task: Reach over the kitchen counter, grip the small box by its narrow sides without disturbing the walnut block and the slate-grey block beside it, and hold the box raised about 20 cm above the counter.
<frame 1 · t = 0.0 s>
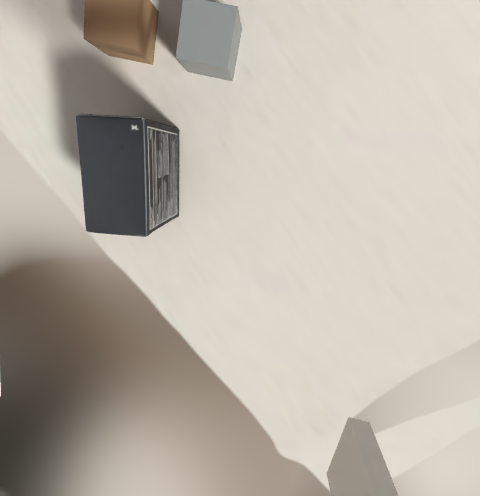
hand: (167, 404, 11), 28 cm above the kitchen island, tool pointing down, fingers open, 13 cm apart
small box: (154, 172, 37), on the kitchen island
walnut block: (133, 34, 33), on the kitchen island
slate-grey block: (214, 51, 33), on the kitchen island
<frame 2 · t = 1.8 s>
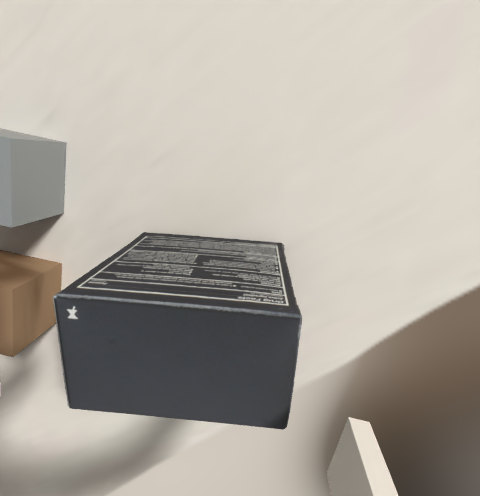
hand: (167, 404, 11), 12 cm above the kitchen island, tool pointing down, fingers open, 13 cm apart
small box: (211, 276, 23), on the kitchen island
walnut block: (30, 285, 25), on the kitchen island
slate-grey block: (31, 171, 22), on the kitchen island
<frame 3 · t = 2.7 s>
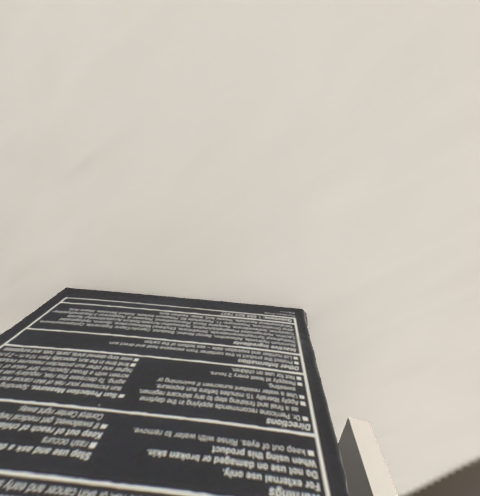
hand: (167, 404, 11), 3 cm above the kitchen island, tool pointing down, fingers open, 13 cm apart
small box: (183, 357, 14), on the kitchen island
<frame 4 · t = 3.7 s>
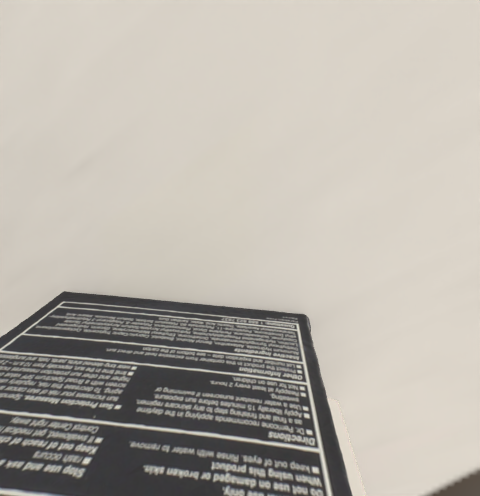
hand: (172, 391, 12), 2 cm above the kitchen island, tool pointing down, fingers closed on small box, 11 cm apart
small box: (183, 362, 14), on the kitchen island, touching gripper
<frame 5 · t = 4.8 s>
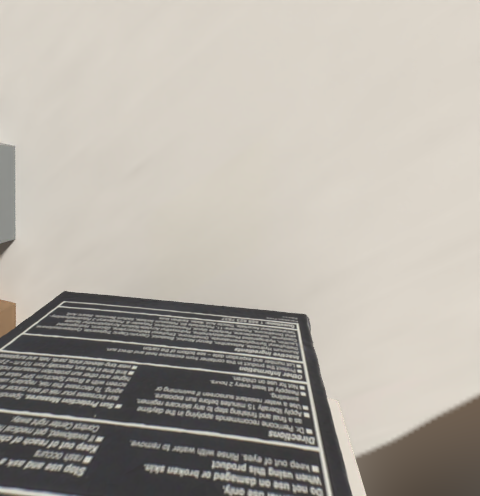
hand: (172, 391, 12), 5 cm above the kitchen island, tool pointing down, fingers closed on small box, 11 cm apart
small box: (183, 362, 14), point 4 cm above the kitchen island, touching gripper
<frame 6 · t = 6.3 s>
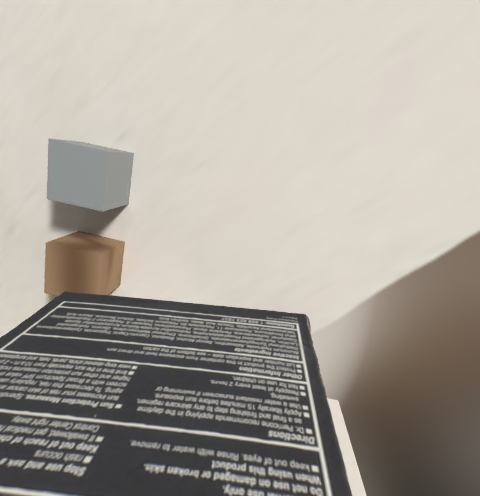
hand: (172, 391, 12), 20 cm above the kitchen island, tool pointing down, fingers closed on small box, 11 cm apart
small box: (183, 362, 14), point 18 cm above the kitchen island, touching gripper
walnut block: (100, 258, 33), on the kitchen island
slate-grey block: (107, 173, 30), on the kitchen island
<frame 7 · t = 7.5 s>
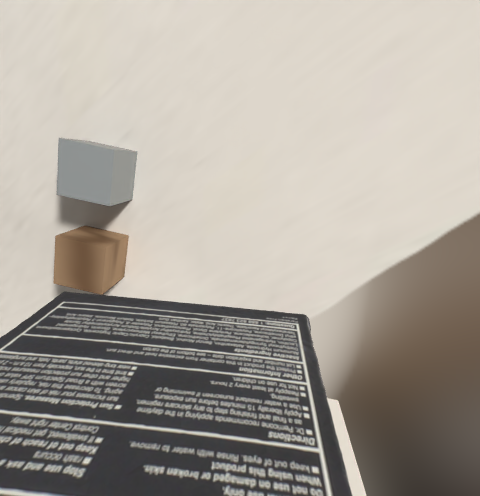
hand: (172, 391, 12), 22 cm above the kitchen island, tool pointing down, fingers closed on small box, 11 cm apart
small box: (183, 362, 14), point 20 cm above the kitchen island, touching gripper
walnut block: (105, 251, 35), on the kitchen island
slate-grey block: (111, 171, 32), on the kitchen island
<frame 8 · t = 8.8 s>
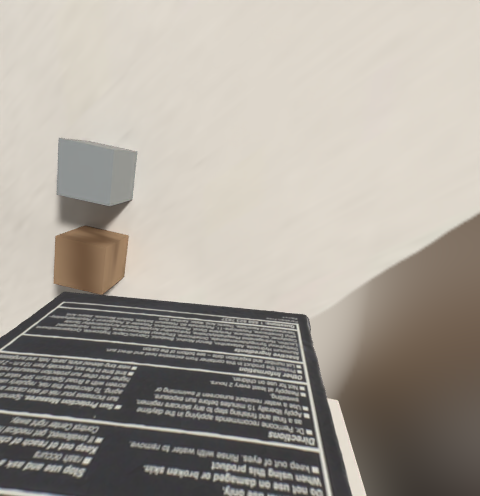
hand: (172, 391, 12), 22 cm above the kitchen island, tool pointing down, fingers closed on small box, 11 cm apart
small box: (183, 362, 14), point 20 cm above the kitchen island, touching gripper
walnut block: (105, 251, 35), on the kitchen island
slate-grey block: (111, 171, 32), on the kitchen island
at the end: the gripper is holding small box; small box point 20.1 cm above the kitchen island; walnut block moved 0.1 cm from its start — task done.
